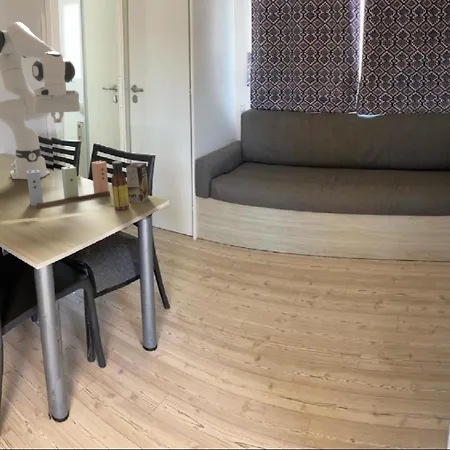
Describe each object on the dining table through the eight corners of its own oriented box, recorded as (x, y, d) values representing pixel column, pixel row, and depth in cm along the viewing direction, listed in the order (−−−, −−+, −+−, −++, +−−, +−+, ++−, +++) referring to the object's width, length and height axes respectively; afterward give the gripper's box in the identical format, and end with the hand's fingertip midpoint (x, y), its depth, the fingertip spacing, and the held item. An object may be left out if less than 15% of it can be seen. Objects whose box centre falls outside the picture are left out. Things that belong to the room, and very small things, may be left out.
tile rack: (24, 203, 237) (24, 197, 236) (101, 190, 256) (100, 184, 255) (35, 211, 226) (34, 204, 225) (113, 197, 245) (113, 191, 244)
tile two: (30, 203, 233) (26, 170, 229) (42, 202, 235) (38, 169, 230) (30, 206, 230) (26, 172, 225) (43, 204, 231) (39, 171, 227)
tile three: (94, 193, 248) (91, 162, 243) (102, 190, 252) (100, 160, 247) (100, 194, 245) (97, 163, 241) (109, 192, 249) (106, 161, 244)
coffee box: (141, 204, 236) (139, 167, 230) (127, 203, 237) (125, 166, 232) (148, 198, 244) (147, 162, 239) (135, 197, 245) (132, 161, 240)
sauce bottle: (131, 206, 233) (128, 160, 226) (127, 211, 227) (124, 163, 220) (115, 206, 233) (112, 160, 227) (111, 210, 227) (108, 163, 221)
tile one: (64, 199, 239) (61, 166, 235) (75, 197, 242) (72, 165, 237) (68, 201, 236) (64, 168, 231) (79, 199, 239) (76, 167, 234)
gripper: (75, 89, 249) (77, 120, 253) (30, 90, 238) (32, 123, 242) (81, 90, 245) (82, 122, 249) (34, 91, 233) (37, 124, 237)
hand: (57, 122), depth 245 cm, fingers closed
